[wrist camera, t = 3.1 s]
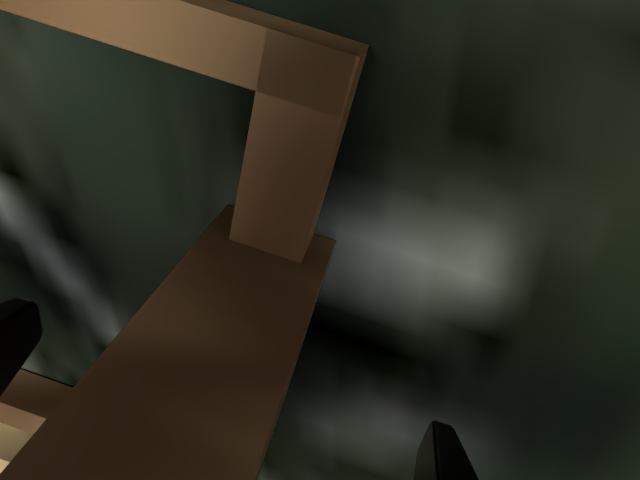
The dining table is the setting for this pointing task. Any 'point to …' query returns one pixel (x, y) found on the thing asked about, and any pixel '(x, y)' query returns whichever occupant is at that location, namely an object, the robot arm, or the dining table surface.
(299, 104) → the brown wooden piece
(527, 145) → the dining table surface
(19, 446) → the broken strip
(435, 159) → the dining table surface
